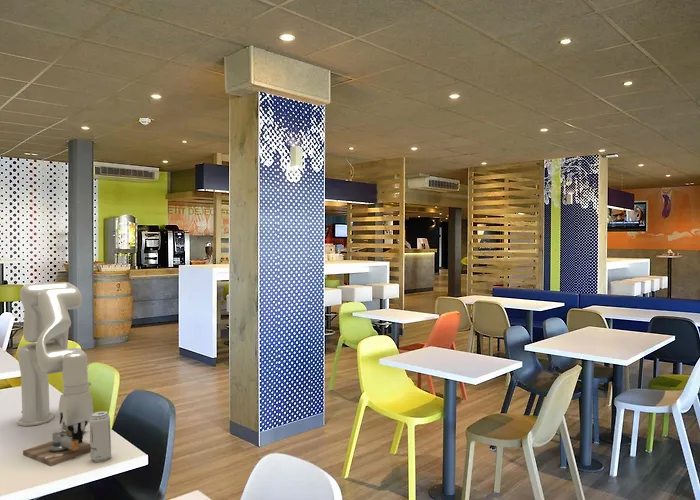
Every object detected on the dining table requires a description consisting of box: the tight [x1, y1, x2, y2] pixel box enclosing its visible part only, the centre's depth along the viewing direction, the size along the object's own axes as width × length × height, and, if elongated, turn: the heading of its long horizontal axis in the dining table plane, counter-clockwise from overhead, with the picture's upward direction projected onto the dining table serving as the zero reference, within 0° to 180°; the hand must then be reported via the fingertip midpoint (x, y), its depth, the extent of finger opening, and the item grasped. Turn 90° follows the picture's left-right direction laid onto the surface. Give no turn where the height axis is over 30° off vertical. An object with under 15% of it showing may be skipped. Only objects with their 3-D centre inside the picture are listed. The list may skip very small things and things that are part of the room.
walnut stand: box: [22, 440, 91, 467], centre depth 181 cm, size 18×15×2 cm
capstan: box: [49, 430, 79, 452], centre depth 178 cm, size 13×7×5 cm, turn 56°
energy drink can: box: [89, 410, 112, 463], centre depth 174 cm, size 6×6×15 cm
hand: (77, 442), depth 179 cm, fingers closed
